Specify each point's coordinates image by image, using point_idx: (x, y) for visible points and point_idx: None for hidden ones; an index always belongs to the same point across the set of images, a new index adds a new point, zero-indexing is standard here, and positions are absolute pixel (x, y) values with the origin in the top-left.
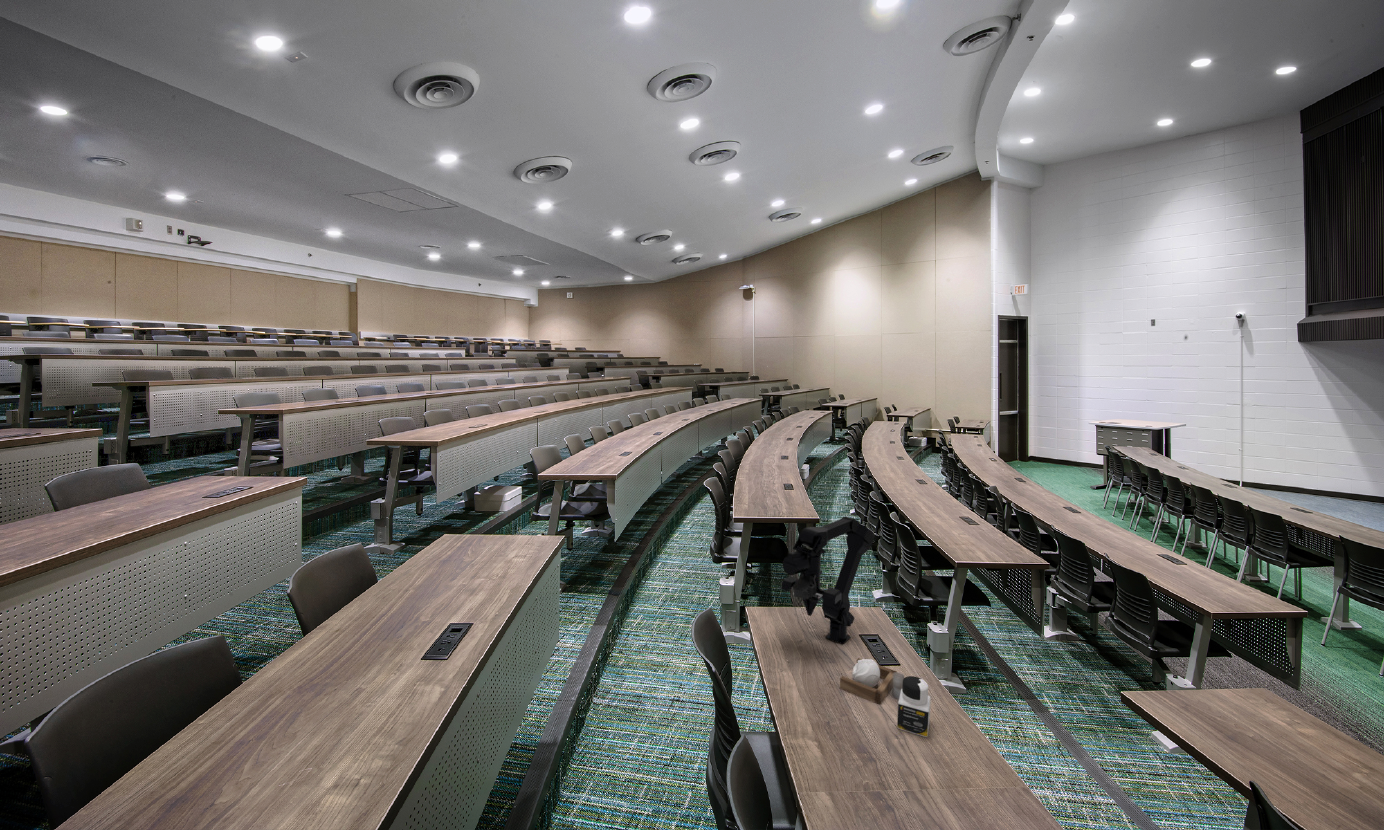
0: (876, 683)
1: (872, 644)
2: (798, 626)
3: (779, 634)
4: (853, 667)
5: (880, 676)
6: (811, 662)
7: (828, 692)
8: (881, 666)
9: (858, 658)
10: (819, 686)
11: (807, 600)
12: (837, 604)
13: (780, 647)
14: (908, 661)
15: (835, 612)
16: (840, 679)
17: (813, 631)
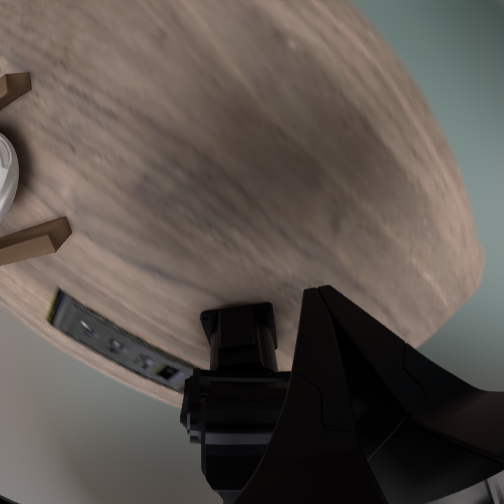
0: None
1: (151, 359)
2: (380, 295)
3: (416, 205)
4: (7, 171)
5: (10, 236)
6: (198, 108)
7: (43, 22)
8: (4, 262)
9: (53, 248)
10: (78, 13)
11: (401, 426)
12: (220, 455)
13: (373, 118)
14: (56, 344)
15: (219, 412)
16: (6, 74)
17: None
